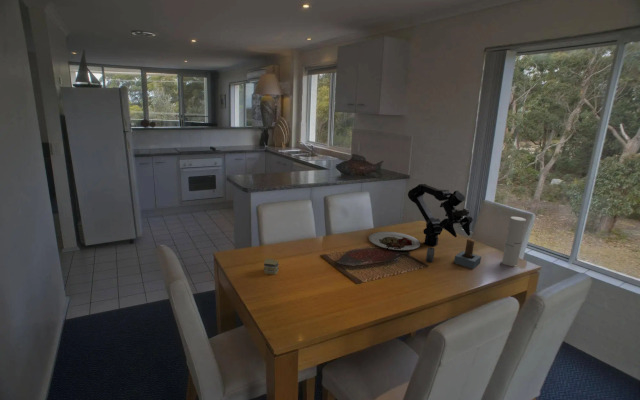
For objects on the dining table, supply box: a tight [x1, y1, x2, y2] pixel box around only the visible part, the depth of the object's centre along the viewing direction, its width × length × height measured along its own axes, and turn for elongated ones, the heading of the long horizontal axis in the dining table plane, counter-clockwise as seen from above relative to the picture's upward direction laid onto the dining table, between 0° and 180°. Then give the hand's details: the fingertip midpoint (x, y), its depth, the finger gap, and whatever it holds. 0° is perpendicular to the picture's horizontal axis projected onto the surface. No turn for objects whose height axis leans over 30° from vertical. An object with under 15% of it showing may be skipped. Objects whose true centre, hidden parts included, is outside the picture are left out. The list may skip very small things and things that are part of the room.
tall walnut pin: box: [464, 238, 476, 259], centre depth 189 cm, size 4×4×13 cm
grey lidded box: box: [263, 258, 280, 276], centre depth 167 cm, size 10×9×6 cm
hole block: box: [453, 250, 482, 270], centre depth 190 cm, size 10×10×4 cm
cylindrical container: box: [501, 216, 527, 267], centre depth 191 cm, size 7×7×25 cm
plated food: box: [368, 231, 421, 251], centre depth 215 cm, size 30×30×3 cm
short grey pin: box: [425, 246, 436, 263], centre depth 190 cm, size 4×4×7 cm
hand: (462, 236), depth 192 cm, fingers open, 9 cm apart
